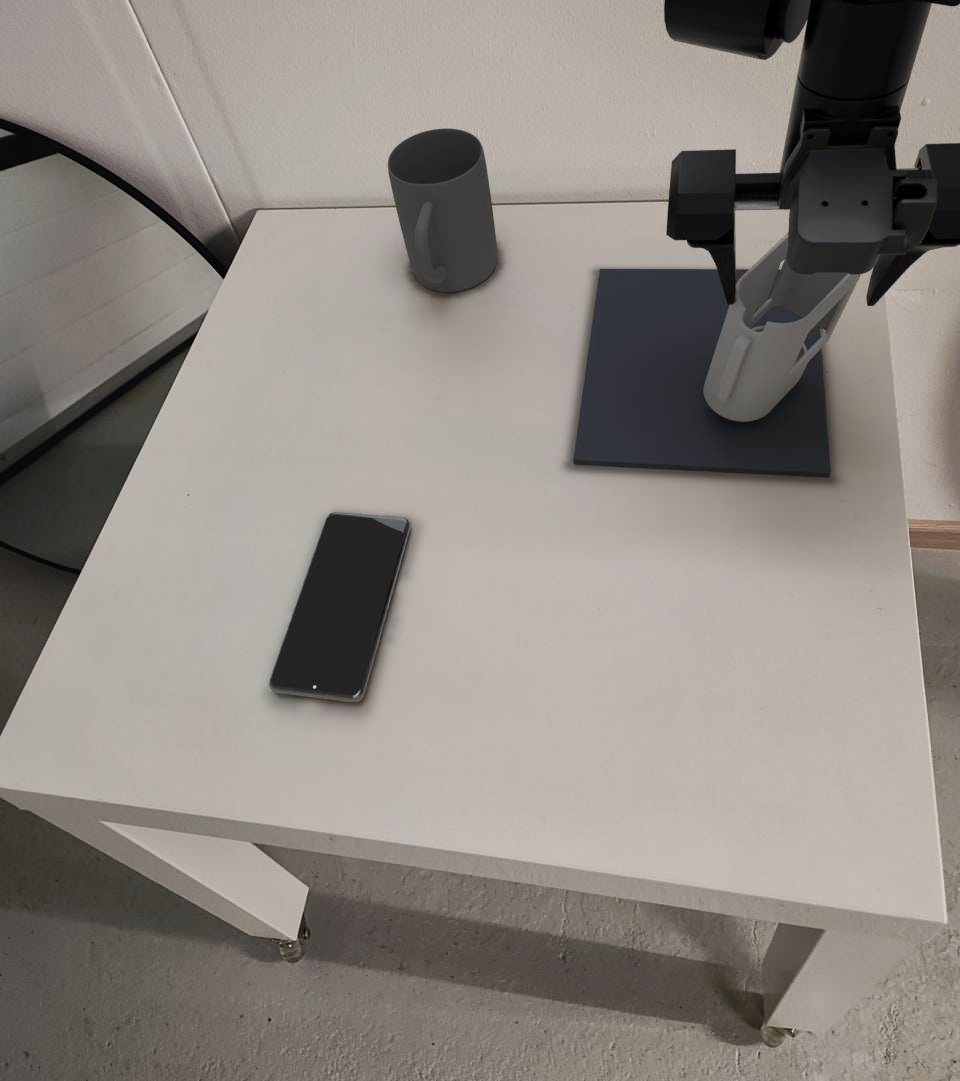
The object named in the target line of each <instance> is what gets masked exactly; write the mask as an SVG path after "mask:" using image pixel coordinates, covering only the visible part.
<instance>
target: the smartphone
mask: <svg viewBox="0 0 960 1081" xmlns="http://www.w3.org/2000/svg"><path fill="white" fill-rule="evenodd" d="M411 527H412V523H411V521H410V520H409V519H408V518H407V517H403V516H391V515H377V514H367V513H366V514H365V513H364V514H363V513H354V512H353V513H351V512H336V511H333V512H331V513H329V514H327V516H326V518H325V520H324V522H323V526H322V528H321V532H320V534H319V537H318V540H317V543H316V545H315V549H314V552H313V555H312V557H311V560H310V562H309V563H310V564H309V565H308V569H307V572H306V575H305V578H304V580H303V583H302V586H301V589H300V591H299V595H298V598H297V600H296V603H295V606H294V608H293V612H292V614H291V618H290V620H289V623H288V626H287V628H286V630H285V634H284V637H283V639H282V643H281V646H280V648H279V651H278V655H277V657H276V660H275V663H274V666H273V669H272V672H271V675H270V678H269V682H268V685H269V688H270V690H271V691H272V692H273V693H278V694H282V695H289V696H291V695H292V696H299V697H306V698H313V699H323V700H330V701H336V702H337V701H339V702H346V703H358V702H360V701H361V700H362V699H363V698H364V697H365V695H366V694H365V693H366V690H367V687H368V683H369V679H370V675H371V672H372V668H373V665H374V662H375V658H376V654H377V651H378V647H379V643H380V639H381V637H382V632H383V629H384V625H385V622H386V618H387V615H388V611H389V607H390V603H391V600H392V596H393V594H394V590H395V585H396V582H397V579H398V575H399V571H400V568H401V564H402V560H403V557H404V553H405V550H406V546H407V542H408V538H409V535H410V532H411Z"/></svg>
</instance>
